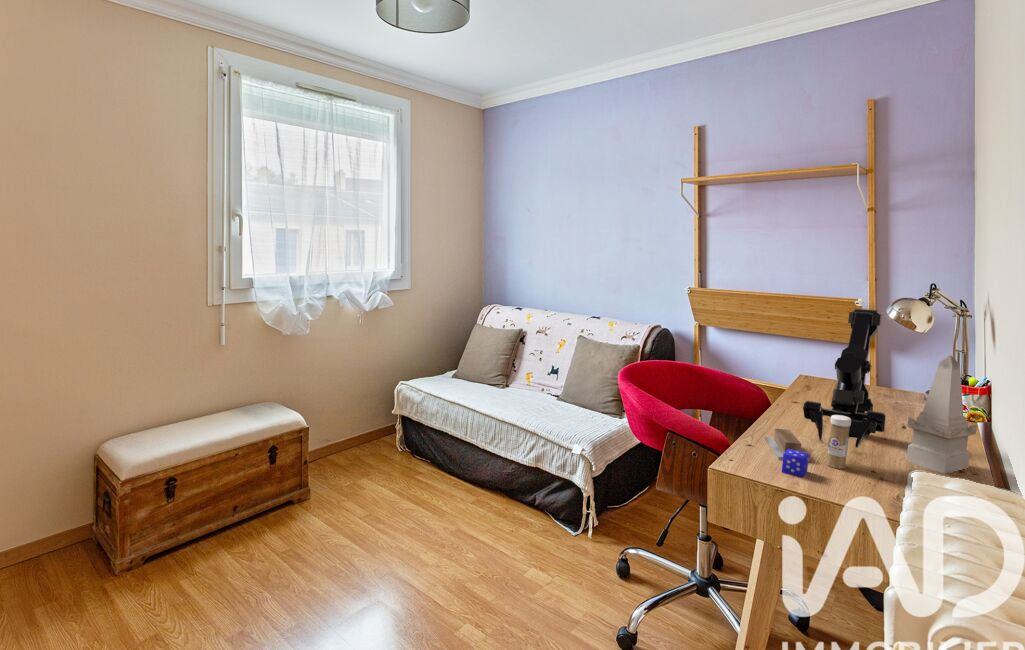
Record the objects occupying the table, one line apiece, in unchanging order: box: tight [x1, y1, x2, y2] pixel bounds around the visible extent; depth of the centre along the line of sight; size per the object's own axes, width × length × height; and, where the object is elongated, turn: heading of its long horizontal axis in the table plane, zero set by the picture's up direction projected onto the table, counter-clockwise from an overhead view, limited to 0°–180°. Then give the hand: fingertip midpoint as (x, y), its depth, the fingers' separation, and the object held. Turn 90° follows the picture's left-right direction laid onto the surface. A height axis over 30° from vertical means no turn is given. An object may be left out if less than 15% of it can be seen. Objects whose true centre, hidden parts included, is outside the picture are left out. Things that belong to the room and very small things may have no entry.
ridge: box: [764, 428, 812, 463], centre depth 156 cm, size 8×16×4 cm, turn 168°
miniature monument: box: [905, 354, 978, 475], centre depth 145 cm, size 10×10×30 cm
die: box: [781, 449, 810, 478], centre depth 141 cm, size 5×5×5 cm
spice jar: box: [826, 415, 851, 470], centre depth 144 cm, size 5×5×14 cm
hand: (837, 443), depth 143 cm, fingers open, 8 cm apart
